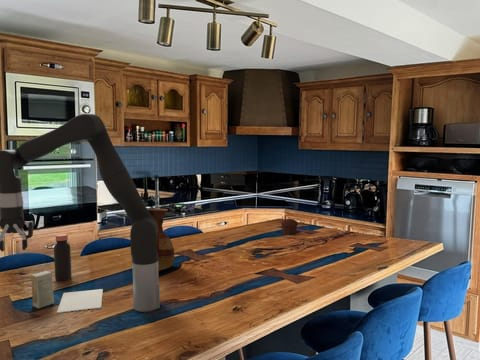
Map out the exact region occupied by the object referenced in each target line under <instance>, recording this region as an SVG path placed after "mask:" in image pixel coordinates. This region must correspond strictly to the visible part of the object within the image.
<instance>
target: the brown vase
mask: <svg viewBox="0 0 480 360" xmlns="http://www.w3.org/2000/svg"><path fill="white" fill-rule="evenodd" d="M146 208H147V209H148V211H149V212H150V214H151V215H152V217H153V218H154V219H155V221H156V223H157V225H158V233H157V253H158V272H160V271H162V270H166V269H168V268H170V267H172V266H173V265H174V261H175V249H174V245H173V242H172V240H171V239H170V237H169V235H167V234H166V233H165V232H164V228H163V223H164V216H165V215H166V214H167V212H169V209H167V208H153V207H152V208H151V207H146Z"/></svg>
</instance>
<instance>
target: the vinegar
mask: <svg viewBox="0 0 480 360" xmlns="http://www.w3.org/2000/svg"><path fill="white" fill-rule="evenodd" d="M68 239H69V237H68V234H67V233H58V234H56V235H55V241H56V243H55V245H54V246H53V257H54V260H53V261H54V263H53V264H54V279H55V281H58V282H64V281H68V280H70V279H71V278H72V258H71V257H72V256H71V253H72V252H71V244H69V243H68V241H69V240H68Z"/></svg>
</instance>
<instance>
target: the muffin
mask: <svg viewBox="0 0 480 360" xmlns="http://www.w3.org/2000/svg"><path fill="white" fill-rule="evenodd" d="M280 225H281V229H282V235H285V236H295V235H296V234H297V228H298V226H299V223H298V222H297V220H295V219H294V218H286V219H283V220H282V221H281V223H280Z"/></svg>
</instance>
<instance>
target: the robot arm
mask: <svg viewBox="0 0 480 360" xmlns="http://www.w3.org/2000/svg"><path fill="white" fill-rule="evenodd" d="M79 141H87V142H88V144H89V145H90V147H91V149H92V150H93V152H94V154H95V158H96V161H97V166H98V171H99V175H100V178H101V180H102V181H103V183H104V186H105V187H106V188H107V191H108V192H109V194H110V195H111V197H113V199H114V200H115V201H116V202H117V204H119V205H120V207H121V208H122V210H124V212H125V213H126V215H127V217H128V219H129V222H130V224H131V228H130V230H129V231H130V233H129V242H130V244H129V245H130V255H131V266H132V297H133V302H132V303H133V309H134V311H137V312H143V313H144V312H146V313H147V312H152V311H154V310H157V309H160V308H161V304H160V303H161V300H160V297H161V296H160V282H159V281H160V280H159V271H158V253H157V233H158V225H157V223H156V221H155V219H154V218H153V217H152V215H151V214H150V212H149V211H148V209H147V208H148V207H147V206H146V205H145V203H144V201H143V199H142V197H141V195H140V192H139V191H138V189H137V187H136V184H135V182H134V180H133V178H132V177H131V175H130V173H129V170H128V169H127V167H126V166H125V164H124V162H123V160H122V158H121V157H120V155H119V153H118V152H117V150H116V148H115V147H114V144H113V143H112V141H111V138H110V136H109V133H108V131H107V127H106V126H105V123H104V121H103V119H101V117H99V116H98V115H96V114H94V113H80V114H77V115H76V116H75V117H73V118H71V119H70V120H68V121H67V122H65V123H64V124H62V125H60V126H59V127H56V128H54V129H53V130H50V131H47V132H46V133H44V134H40V135H39V136H35V137H33V138H31V139H28V140H26V141H24V142H22V143H21V144H19V146H18V147H17V148H16V147H15V148H14V149H1V150H0V228H1V229H2V231H1V233H0V251H1V252H4V251H5V246H6V245H5V240H4V239H5V237H6V235H7V234H12V233H13V234H18V235H19V236H20V237H21V239H22V240H21V246H22V247H21V248H22V251H26V249H27V248H28V247H29V246H28V245H29V244H28V239H31V238H32V237H33V236H34V221H33V220H30V221H29V220H28V221H26V220H25V216H24V213H25V212H24V199H23V197H24V196H23V193H22V179H21V178H20V177H19V176H17V175H16V174H15V169H19V168H23V167H24V166H26V165H28V164H29V163H31V162H32V161H36V160H38V159H40V158H42V157H44V156H47V155H49V154H52V153H53V152H54V151H56V150H58V149H60V148H61V147H63V146H66V145H68V144H72V143H76V142H79ZM25 225H26V228H28V230H27V231H28V232H27V233H26V231H25V230H24V226H25Z"/></svg>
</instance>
